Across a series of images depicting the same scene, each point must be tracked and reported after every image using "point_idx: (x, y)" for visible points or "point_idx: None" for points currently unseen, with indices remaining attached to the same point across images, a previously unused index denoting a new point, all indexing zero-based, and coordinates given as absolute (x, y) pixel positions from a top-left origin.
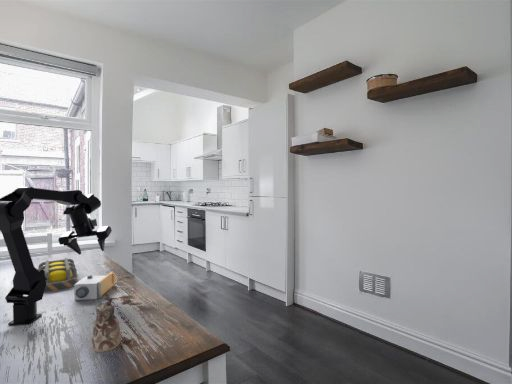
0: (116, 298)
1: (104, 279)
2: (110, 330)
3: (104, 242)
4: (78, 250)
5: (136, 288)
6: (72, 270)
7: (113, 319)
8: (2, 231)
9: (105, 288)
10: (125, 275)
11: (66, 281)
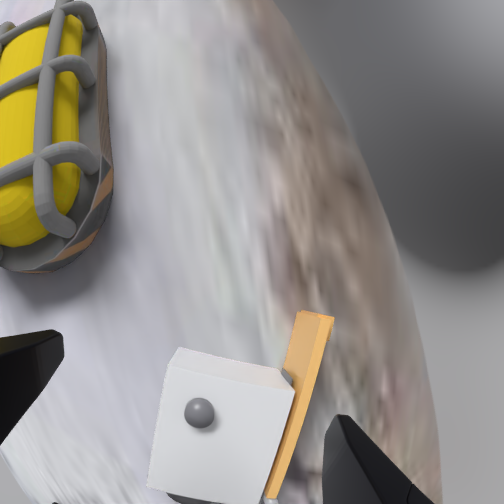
0: None
1: (289, 456)
2: None
3: (406, 494)
4: (27, 392)
5: (396, 383)
6: (82, 85)
7: None
8: None
9: None
10: (337, 147)
11: (64, 249)
